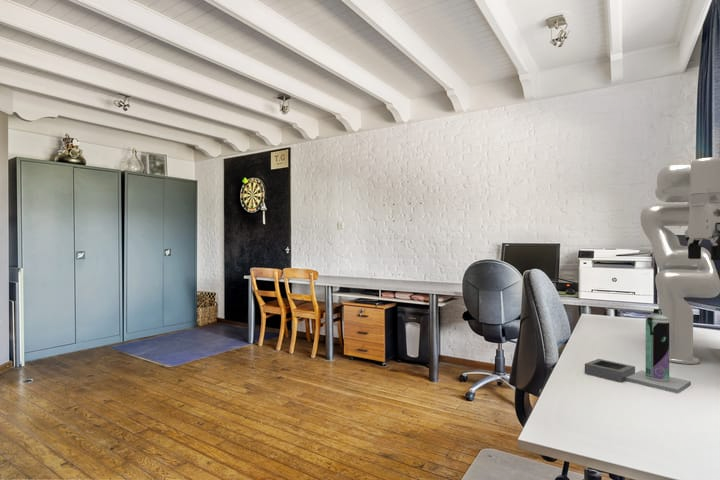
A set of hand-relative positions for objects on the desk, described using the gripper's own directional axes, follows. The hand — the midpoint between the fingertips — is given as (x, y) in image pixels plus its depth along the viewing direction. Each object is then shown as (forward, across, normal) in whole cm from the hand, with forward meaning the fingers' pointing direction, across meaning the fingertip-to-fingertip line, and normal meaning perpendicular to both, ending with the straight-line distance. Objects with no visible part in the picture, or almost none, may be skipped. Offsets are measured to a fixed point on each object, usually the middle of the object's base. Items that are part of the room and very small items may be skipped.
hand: (705, 259), depth 115 cm
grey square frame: (+35, 0, +25) cm, 44 cm away
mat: (+35, -5, +15) cm, 39 cm away
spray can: (+34, -4, +15) cm, 38 cm away
